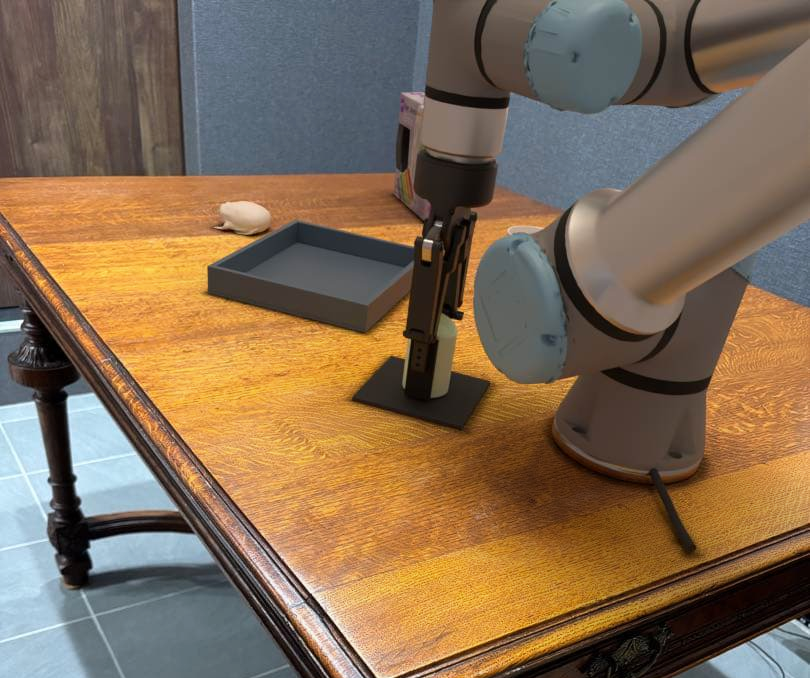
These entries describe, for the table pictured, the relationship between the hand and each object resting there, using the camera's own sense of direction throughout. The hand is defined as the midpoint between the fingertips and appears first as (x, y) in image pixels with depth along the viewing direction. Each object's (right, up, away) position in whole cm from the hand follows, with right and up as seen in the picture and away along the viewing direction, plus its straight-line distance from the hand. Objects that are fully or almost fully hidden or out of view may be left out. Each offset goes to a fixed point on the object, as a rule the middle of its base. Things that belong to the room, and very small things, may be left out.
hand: (425, 385), depth 87 cm
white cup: (+14, +15, +25) cm, 32 cm away
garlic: (-27, +32, +38) cm, 57 cm away
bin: (-13, +19, +24) cm, 33 cm away
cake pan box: (0, +44, +60) cm, 74 cm away
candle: (0, 0, 0) cm, 0 cm away
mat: (0, -1, +1) cm, 1 cm away
